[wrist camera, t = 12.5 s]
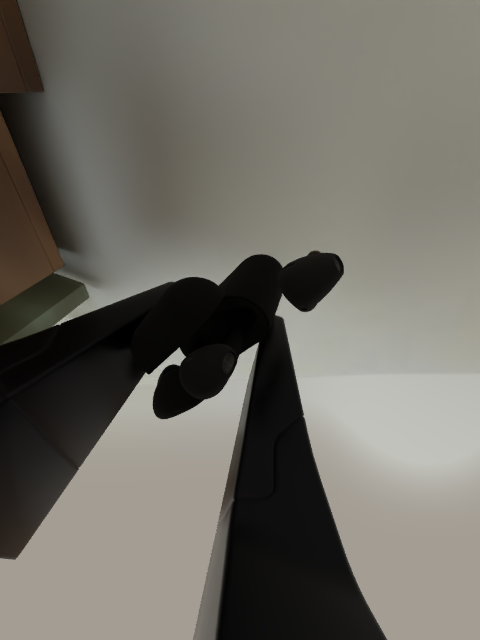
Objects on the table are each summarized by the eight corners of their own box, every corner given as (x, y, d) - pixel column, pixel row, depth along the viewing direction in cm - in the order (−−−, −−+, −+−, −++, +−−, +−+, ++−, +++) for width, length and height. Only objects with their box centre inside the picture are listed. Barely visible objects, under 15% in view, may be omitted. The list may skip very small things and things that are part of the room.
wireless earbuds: (212, 341, 11) (145, 455, 8) (166, 303, 11) (69, 406, 7) (355, 227, 7) (368, 368, 3) (289, 152, 6) (207, 214, 3)
